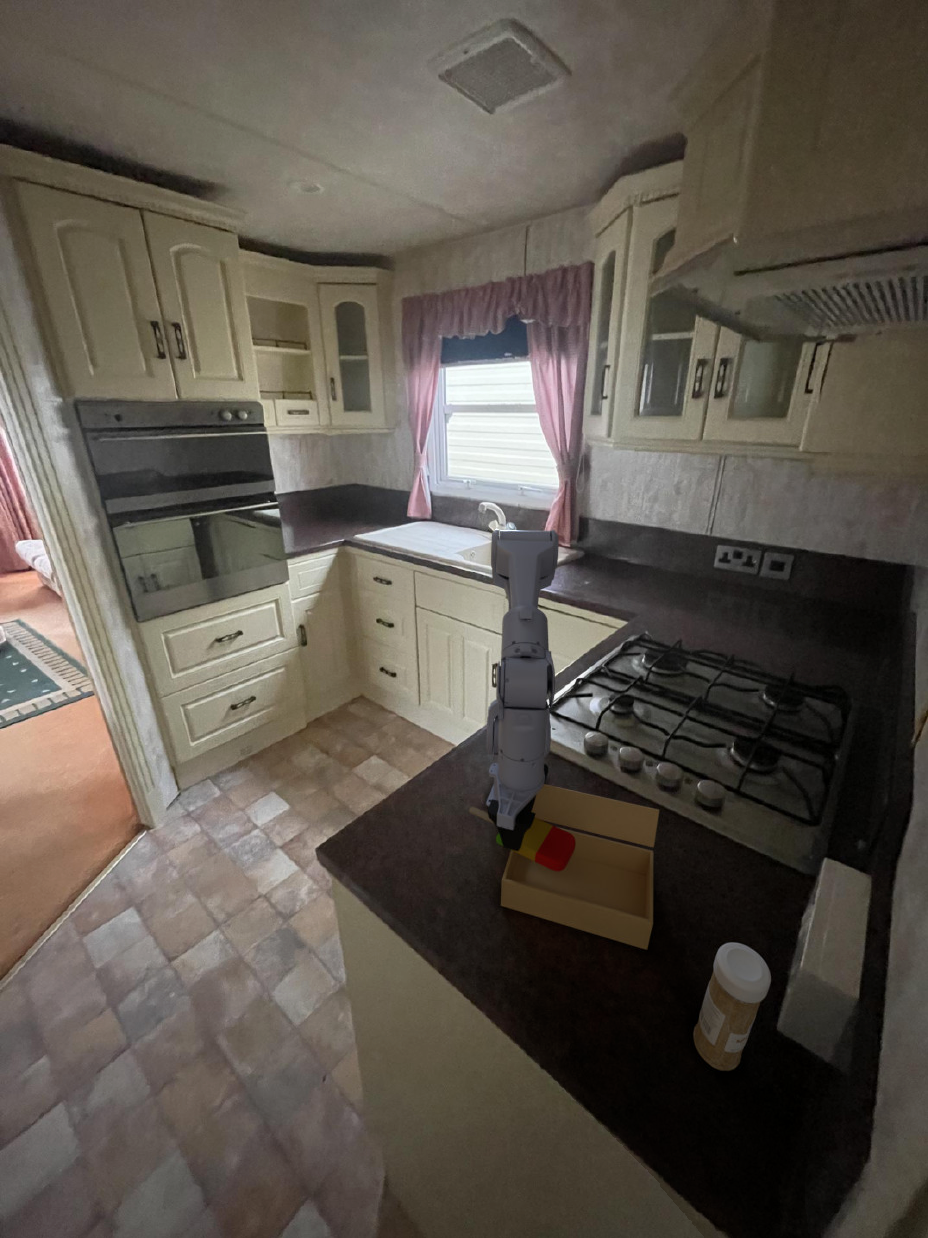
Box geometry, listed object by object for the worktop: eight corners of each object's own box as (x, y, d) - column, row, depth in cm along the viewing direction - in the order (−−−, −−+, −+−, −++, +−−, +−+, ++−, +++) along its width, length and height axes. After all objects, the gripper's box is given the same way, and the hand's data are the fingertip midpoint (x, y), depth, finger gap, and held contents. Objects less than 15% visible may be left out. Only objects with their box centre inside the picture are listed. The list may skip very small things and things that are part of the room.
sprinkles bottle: (742, 1081, 50) (775, 999, 45) (692, 1061, 52) (718, 979, 46) (738, 1031, 54) (768, 950, 49) (691, 1013, 56) (715, 933, 50)
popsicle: (561, 877, 63) (562, 866, 63) (459, 826, 71) (459, 816, 70) (578, 845, 68) (579, 835, 67) (479, 801, 75) (480, 791, 74)
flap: (521, 815, 74) (521, 814, 75) (653, 847, 69) (653, 846, 69) (525, 780, 74) (525, 779, 74) (659, 810, 68) (659, 809, 69)
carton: (519, 842, 77) (520, 818, 75) (648, 876, 71) (653, 850, 69) (500, 905, 67) (501, 880, 65) (647, 950, 62) (653, 923, 60)
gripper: (505, 708, 70) (503, 784, 76) (471, 778, 58) (472, 863, 64) (557, 717, 68) (550, 796, 74) (533, 792, 56) (527, 879, 61)
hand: (517, 828), depth 69 cm, fingers closed on popsicle, 6 cm apart
